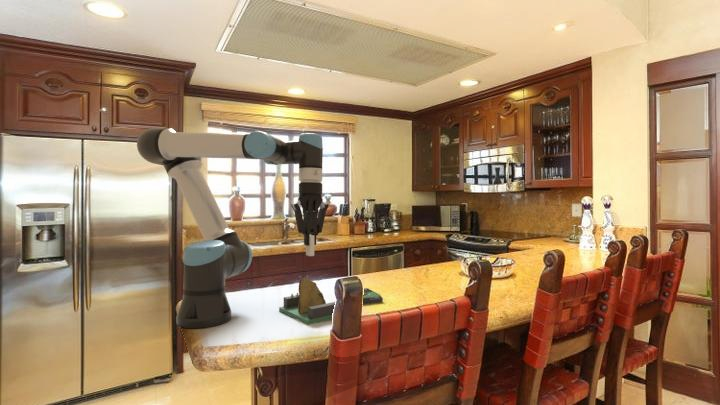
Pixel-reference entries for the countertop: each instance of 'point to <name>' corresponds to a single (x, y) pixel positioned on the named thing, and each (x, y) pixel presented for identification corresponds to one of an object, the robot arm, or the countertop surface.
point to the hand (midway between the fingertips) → (310, 255)
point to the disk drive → (371, 297)
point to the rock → (309, 295)
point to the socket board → (301, 316)
